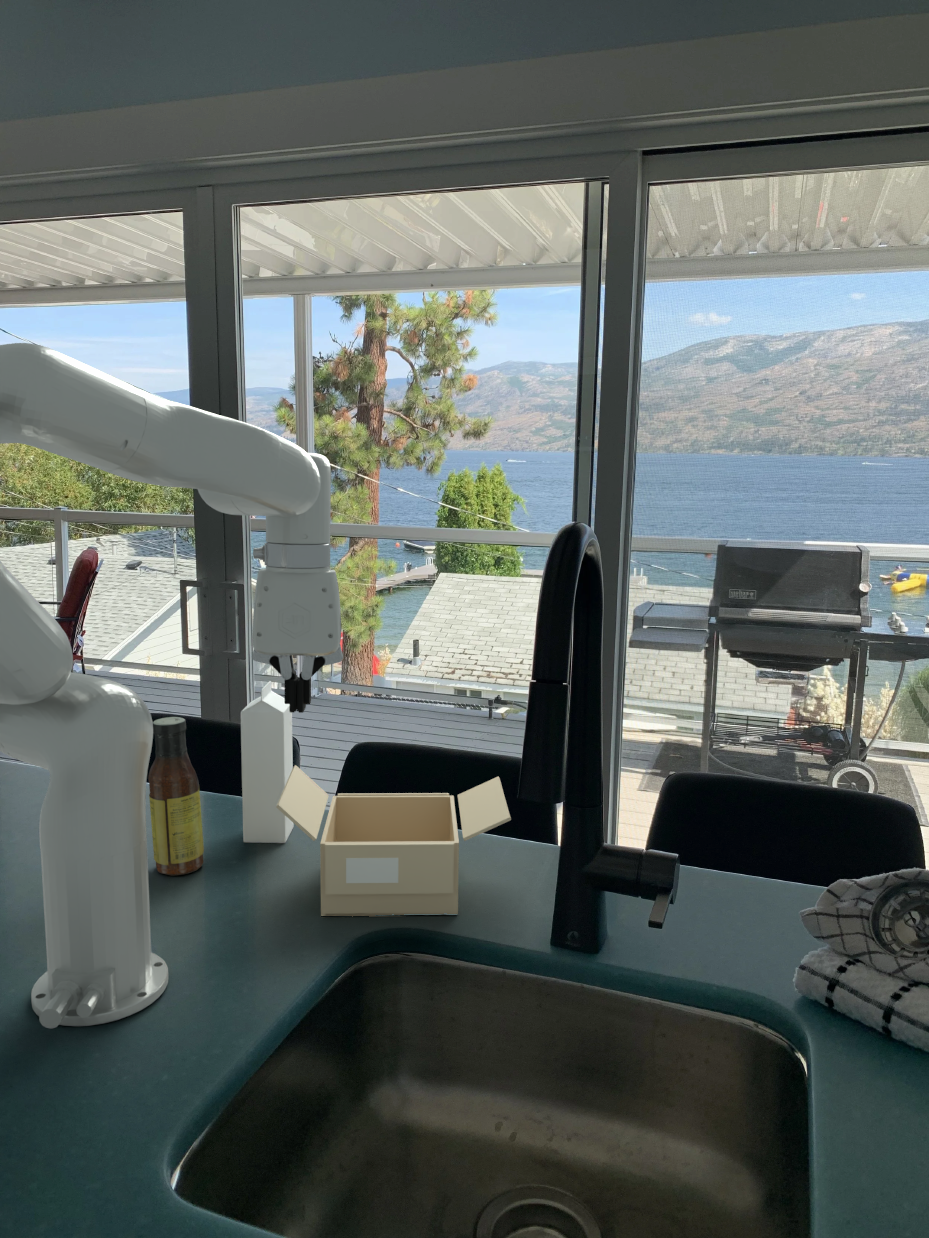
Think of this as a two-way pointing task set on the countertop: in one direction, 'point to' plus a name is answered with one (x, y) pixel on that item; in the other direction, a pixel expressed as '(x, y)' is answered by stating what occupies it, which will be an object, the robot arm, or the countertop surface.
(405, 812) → the carton
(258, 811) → the milk
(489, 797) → the right flap
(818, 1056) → the countertop surface
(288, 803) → the left flap
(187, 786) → the sauce bottle
